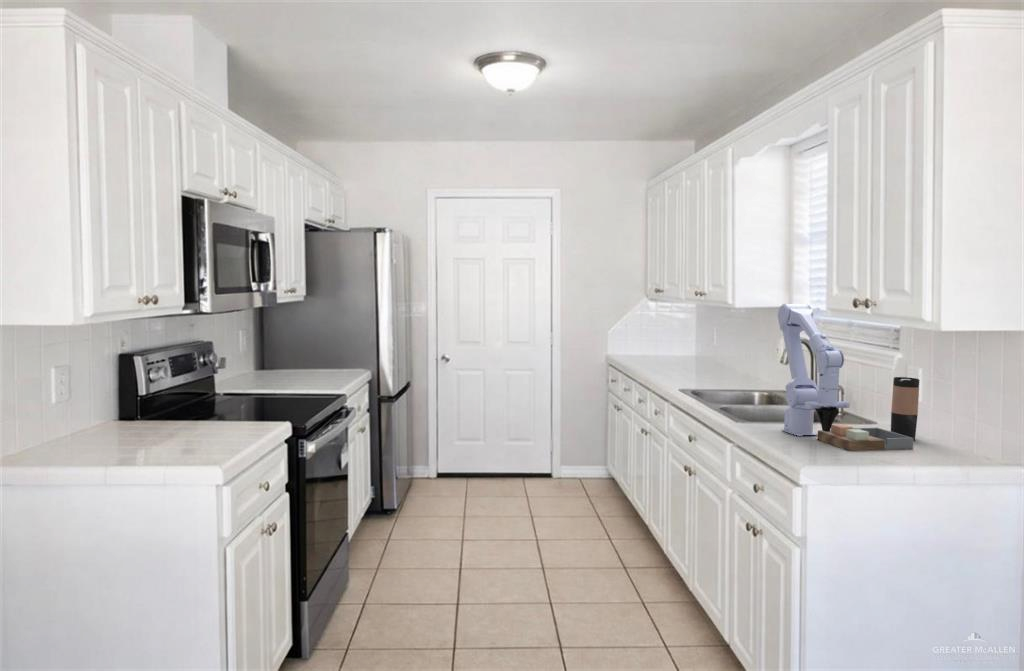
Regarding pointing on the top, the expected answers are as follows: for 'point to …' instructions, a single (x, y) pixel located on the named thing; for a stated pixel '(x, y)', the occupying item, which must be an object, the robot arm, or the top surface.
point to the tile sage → (857, 434)
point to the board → (851, 442)
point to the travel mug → (905, 406)
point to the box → (891, 438)
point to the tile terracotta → (840, 429)
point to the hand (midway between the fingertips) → (826, 430)
